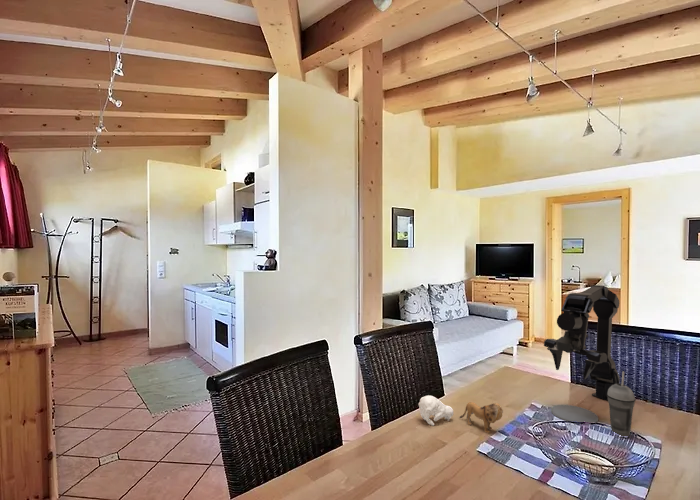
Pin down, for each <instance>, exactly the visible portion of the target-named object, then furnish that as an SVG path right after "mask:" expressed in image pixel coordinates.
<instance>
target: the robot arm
mask: <svg viewBox="0 0 700 500" xmlns="http://www.w3.org/2000/svg"><path fill="white" fill-rule="evenodd" d="M619 308H620V299H619V297H618V296H617V294H616V293H615V292H613V291H611V290H610V289H609V288H608V286H605V285H599V284H598V285H597V284H594V285H590V287H588V288H587V289H586V290H583V291H582V292H571V293H570V292H569V294H568V295H567V296H566V297H565V300H564V303H563V305H562V307H561V312H562V313H560V314H559V315H558V316H557V318H556V325H557V326H558V328H560V329H561V330H563V331H564V335H563V336H561V337H559V338H558V339H556V338H546V339H545V340H544V342H543V346H544V347H545V348H546V350H548V351H549V352H550V353H551V356H552V358H553V363H554V366H555V370H556V371H560V368H561V367H560V366H561V362H562V357H563V352H565V353H569V354H571V353H574V354H579V355H582V356H585V357H586V358H587V359H584V362H585V365H584V372H583V377H582V378H583V380H587V379H588V377H589V379H590V380H592V381H595V392H594V393H592V394H591V396H593V397H596V398H598V399H601V400H605V401H607V402H608V397H607V393H608V389H609V388H610V387H611V386H612V385H614V384H621V382H620V381H621V380H620V378H621V376H620V375H619V372H618V370H617V369H616V367H617V366H616V362H615V360H614V359H613V358H612V355H611V354H612V331H613V329H612V327H613V326H612V325H613V318H614V317H615V316H616V314H617V313H618V309H619ZM592 310H593V312H594V314H595V315H596V317H597V329H596V330H597V331H596V349H593V350H592V349H591V350H586V349H587V346H586V338H588V337H589V334H587V331H588V326H589V325H588V323H589V319H590V317H591V316H590V313H591V311H592Z"/></svg>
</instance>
